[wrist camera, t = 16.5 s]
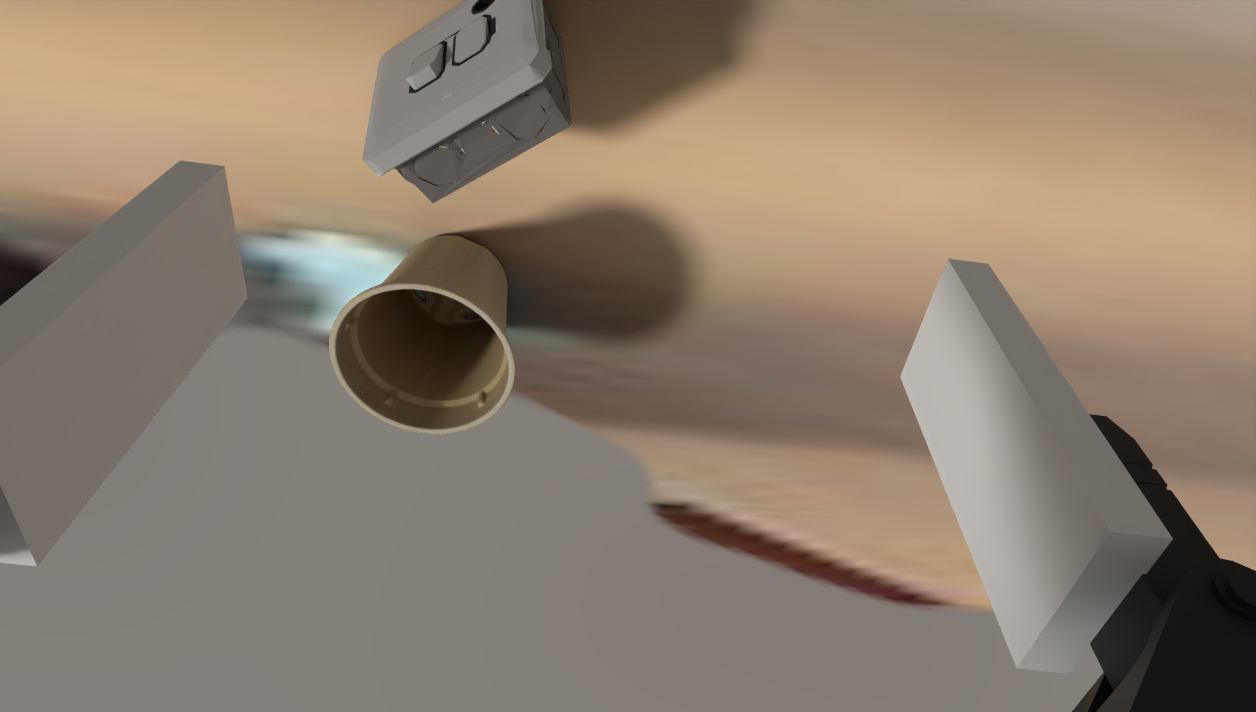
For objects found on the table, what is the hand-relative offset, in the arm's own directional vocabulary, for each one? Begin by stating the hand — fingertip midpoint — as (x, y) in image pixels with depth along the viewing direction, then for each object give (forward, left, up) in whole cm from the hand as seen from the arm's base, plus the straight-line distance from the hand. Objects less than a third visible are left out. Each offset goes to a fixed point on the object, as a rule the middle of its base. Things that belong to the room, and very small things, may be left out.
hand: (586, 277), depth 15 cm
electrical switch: (0, -8, -29) cm, 30 cm away
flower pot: (+10, -17, -29) cm, 35 cm away
